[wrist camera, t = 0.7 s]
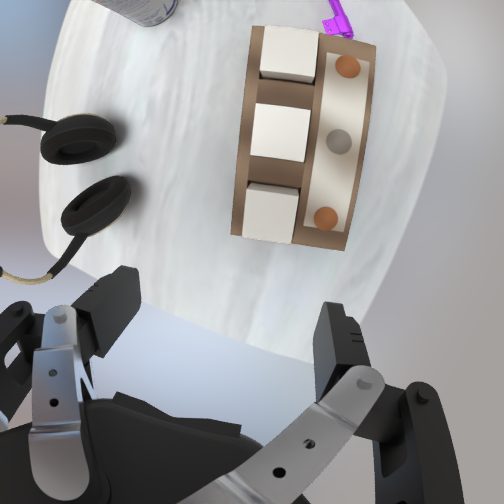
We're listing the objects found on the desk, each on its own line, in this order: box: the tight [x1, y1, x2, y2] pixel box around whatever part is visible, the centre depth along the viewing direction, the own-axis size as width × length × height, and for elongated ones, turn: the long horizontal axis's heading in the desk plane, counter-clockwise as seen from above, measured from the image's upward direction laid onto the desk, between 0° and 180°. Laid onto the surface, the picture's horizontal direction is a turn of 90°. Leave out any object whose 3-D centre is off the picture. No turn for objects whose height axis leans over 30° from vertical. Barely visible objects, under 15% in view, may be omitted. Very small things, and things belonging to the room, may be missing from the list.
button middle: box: [250, 103, 311, 162], centre depth 21 cm, size 4×4×3 cm
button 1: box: [242, 183, 299, 244], centre depth 24 cm, size 4×4×3 cm
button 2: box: [260, 25, 319, 83], centre depth 18 cm, size 4×4×3 cm
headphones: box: [0, 113, 131, 285], centre depth 19 cm, size 9×15×20 cm, turn 13°
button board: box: [230, 26, 376, 251], centre depth 23 cm, size 20×11×4 cm, turn 174°
